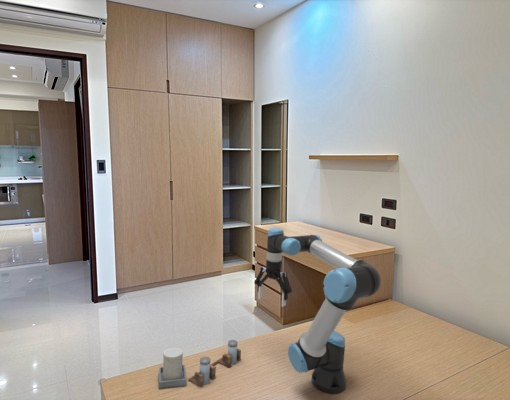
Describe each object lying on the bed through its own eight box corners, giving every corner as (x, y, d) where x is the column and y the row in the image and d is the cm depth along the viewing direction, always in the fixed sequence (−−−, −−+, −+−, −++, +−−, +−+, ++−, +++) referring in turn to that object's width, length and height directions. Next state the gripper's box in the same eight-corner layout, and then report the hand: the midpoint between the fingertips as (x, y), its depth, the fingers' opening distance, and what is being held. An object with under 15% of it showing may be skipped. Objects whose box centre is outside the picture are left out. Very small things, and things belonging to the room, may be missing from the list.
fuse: (238, 361, 170) (239, 342, 169) (232, 365, 166) (233, 345, 165) (231, 358, 172) (232, 339, 171) (225, 362, 169) (226, 342, 168)
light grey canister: (162, 385, 148) (163, 358, 147) (162, 373, 156) (163, 348, 155) (182, 382, 150) (183, 356, 149) (181, 371, 158) (182, 346, 157)
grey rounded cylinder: (211, 380, 154) (212, 359, 153) (204, 385, 150) (205, 363, 149) (204, 376, 157) (204, 355, 156) (196, 381, 153) (197, 359, 152)
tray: (184, 370, 160) (184, 364, 160) (186, 386, 149) (186, 379, 149) (159, 373, 157) (159, 367, 157) (158, 389, 146) (159, 382, 146)
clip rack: (240, 359, 172) (241, 349, 171) (200, 387, 149) (201, 375, 148) (228, 354, 176) (229, 344, 175) (188, 380, 153) (188, 369, 152)
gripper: (300, 263, 166) (297, 306, 168) (257, 253, 180) (255, 293, 182) (292, 267, 160) (290, 311, 162) (248, 256, 174) (246, 297, 176)
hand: (271, 302), depth 172 cm, fingers open, 13 cm apart
